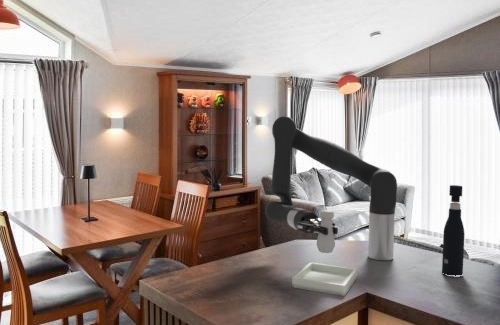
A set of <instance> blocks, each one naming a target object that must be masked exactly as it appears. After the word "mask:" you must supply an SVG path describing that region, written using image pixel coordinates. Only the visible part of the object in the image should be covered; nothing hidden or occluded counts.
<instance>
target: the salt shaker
mask: <svg viewBox="0 0 500 325" xmlns="http://www.w3.org/2000/svg"><path fill="white" fill-rule="evenodd" d="M319 217H320V219H321V224H320V226H322V227H326V228H328V235H323V234H322V233H317V238H316V247H317V250H318V252H320V253H321V254H323V253H325V254H330V253H333V251H334V248H335V246H336V242H335V234H334V233H333V226H332V220H333V219H334V217H335V214H334V210H331V209H322V210H321V211H320V213H319Z"/></svg>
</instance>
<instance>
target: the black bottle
mask: <svg viewBox="0 0 500 325" xmlns="http://www.w3.org/2000/svg"><path fill="white" fill-rule="evenodd" d="M448 192H449V196H451V200H450V201H451V202H450V204H449V209H448V217H447V220H446V222H445V224H444V228H443V235H442V236H443V240H442V259H441V260H442V264H441V265H442V267H441V274H442V273H444V274H447V275H455V276H456V275H462V274H463V275H464V255H465V251H464V250H465V228H464V223H463V220H462V209H461V208H462V206H461V203H460V202H461V201H460V200H461V199H460V198H461V197H462V196H463V186H462V185H458V184H457V185H455V184H451V185H449V191H448Z"/></svg>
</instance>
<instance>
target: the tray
mask: <svg viewBox="0 0 500 325" xmlns="http://www.w3.org/2000/svg"><path fill="white" fill-rule="evenodd" d="M291 279H292V280H291V282H292V283H291V284H292V285H291V286H292V288H293V289H294V288H295V289H301V290H305V291H306V290H307V291H312V292H317V293H318V292H319V293H323V294H324V293H325V294H329V295H330V294H331V295H336V296H342V297H344V296H346V294H347V293H348V292H349V290H350V289H351V287H352V286H353V284H354V283H355V282H356V280H357V279H358V268H355V267H353V268H352V267H348V266H347V267H346V266H341V265H340V266H339V265H334V264H333V265H332V264H326V263H320V262H319V263H318V262H311V261H310V262H309V263H308V264H306V265H305V266H304V267H303V268H302V269H300V270H299V271H298V272H297V273H296V274H295V275H293V276H292V278H291Z"/></svg>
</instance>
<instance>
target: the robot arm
mask: <svg viewBox="0 0 500 325" xmlns="http://www.w3.org/2000/svg"><path fill="white" fill-rule="evenodd" d="M271 132H272V136H273V138H274V158H273V167H272V174H271V175H272V176H271V187H270V188H271V190H270V191H271V194H272V195H274V196H277V197H278V198H279V199H280V201H270V202H269V203H268V202H267V204H266V206H265V209H264V213H265V217H266V218H267V219H268V220H270V221H272V222H275V223H281V224H284V225H287V226H288V227H290V228H293V229H294V230H297V231H299V232H301V233H304V234H308V235H310V234H314V233H315V234H319V233H322V234H323V235H328V228H326V227H322V226H320V224H321V220H322V218H321V217H320V218H319V217H318V215H317V214H316V213H315V212H314V211H311V210H309V209H305V208H301V207H296V206H294V205H293V199H292V195H291V176H292V175H291V174H292V172H291V171H292V170H291V169H292V162H291V161H292V149H295V150H297V151H300V152H302V153H303V154H305V155H306V156H307V157H309V158H311V159H313V160H314V161H316V162H317V163H320V164H322V165H323V166H325V167H327V168H329V169H330V170H334V171H336V172H337V173H340V174H344V175H346V176H349V177H351V178H355V179H357V180H358V181H360V182H362V183H363V184H364V185H366V186H367V187H369V188H370V202H369V209H368V210H369V211H368V212H369V214H368V215H369V216H368V222H369V223H368V246H367V257H368V258H369V259H371V260H376V261H391V260H393V259H394V249H395V248H394V247H395V222H396V221H395V217H396V216H395V215H396V207H397V192H398V190H397V189H398V182H397V178H396V176H395V175H394V174H393V173H392V172H391V171H389V170H387V169H383V168H382V167H378V166H375V165H373V164H371V163H368V162H366V161H365V160H363V159H361V158H360V157H358V155H356V154H354V153H352V152H351V151H349V150H348V149H346V148H344V147H343V146H341V145H339V144H336V143H334V142H332V141H330V140H328V139H324V138H320V137H316V136H313V135H310V134H308V133H306V132H304V131H303V130H301V129H299V128H297V125H296V122H295V121H294V119H293V118H291V117H290V116H287V115H283V116H282V115H281V116H280V117H277V119H276V120H275V121H273V124H272V130H271ZM332 226H333V233H334V235H338V233H339V227H338V226H336V222H334V220H333V219H332Z"/></svg>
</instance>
